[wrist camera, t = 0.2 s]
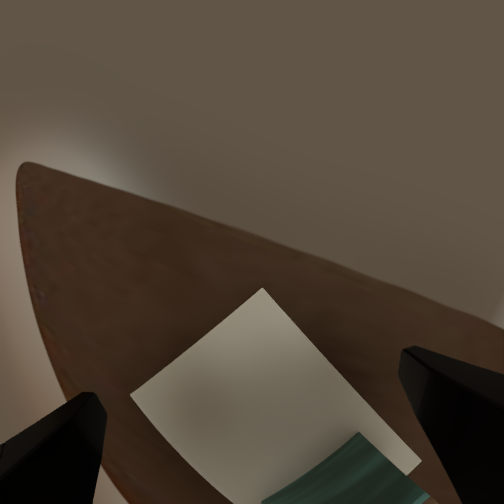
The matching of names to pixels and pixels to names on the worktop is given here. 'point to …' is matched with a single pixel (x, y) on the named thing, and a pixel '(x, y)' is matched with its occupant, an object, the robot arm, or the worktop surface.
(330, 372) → the board
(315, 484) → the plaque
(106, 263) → the worktop surface
